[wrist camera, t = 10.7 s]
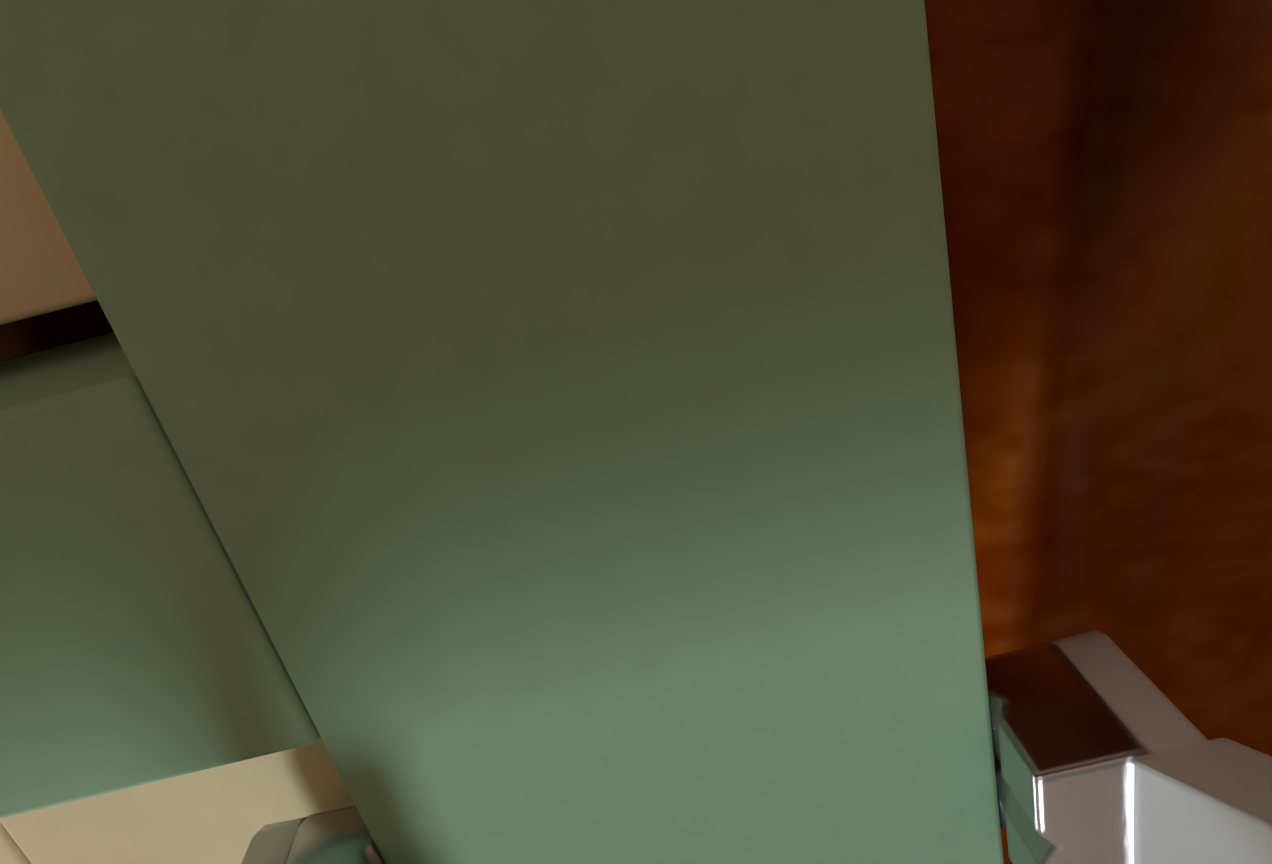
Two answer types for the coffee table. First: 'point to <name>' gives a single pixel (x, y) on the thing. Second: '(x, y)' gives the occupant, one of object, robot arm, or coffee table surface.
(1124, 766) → the robot arm
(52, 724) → the green pad
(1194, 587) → the coffee table surface
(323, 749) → the beige pad
